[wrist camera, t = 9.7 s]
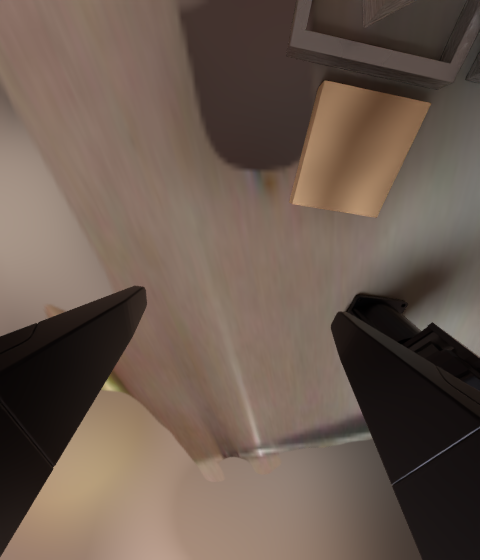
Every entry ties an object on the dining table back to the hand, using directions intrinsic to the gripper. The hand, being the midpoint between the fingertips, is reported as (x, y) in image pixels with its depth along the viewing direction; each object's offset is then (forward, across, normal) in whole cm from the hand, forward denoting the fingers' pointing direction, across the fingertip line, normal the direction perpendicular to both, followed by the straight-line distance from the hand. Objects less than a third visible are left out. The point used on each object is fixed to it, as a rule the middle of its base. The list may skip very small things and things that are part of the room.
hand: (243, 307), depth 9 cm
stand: (+12, -8, -8) cm, 16 cm away
